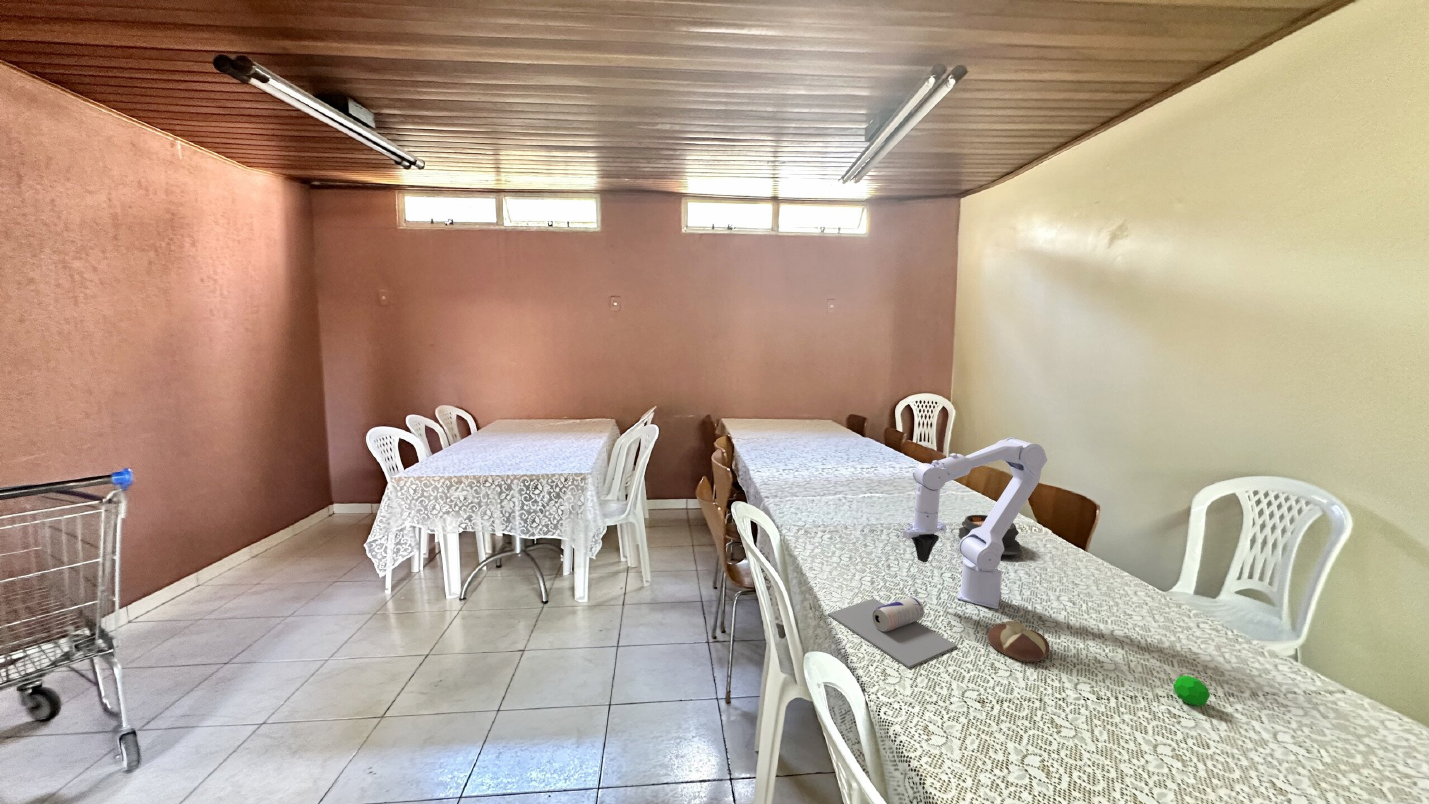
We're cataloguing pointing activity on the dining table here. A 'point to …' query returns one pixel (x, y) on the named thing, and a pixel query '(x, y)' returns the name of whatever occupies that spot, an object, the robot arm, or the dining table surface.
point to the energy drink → (898, 614)
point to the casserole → (1008, 539)
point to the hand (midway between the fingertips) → (922, 560)
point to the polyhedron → (1191, 690)
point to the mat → (893, 635)
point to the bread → (1018, 641)
